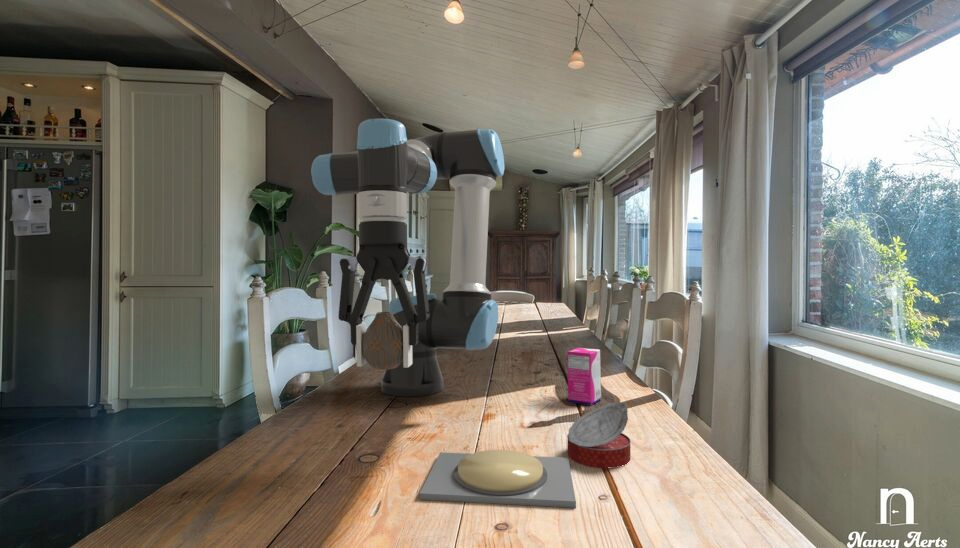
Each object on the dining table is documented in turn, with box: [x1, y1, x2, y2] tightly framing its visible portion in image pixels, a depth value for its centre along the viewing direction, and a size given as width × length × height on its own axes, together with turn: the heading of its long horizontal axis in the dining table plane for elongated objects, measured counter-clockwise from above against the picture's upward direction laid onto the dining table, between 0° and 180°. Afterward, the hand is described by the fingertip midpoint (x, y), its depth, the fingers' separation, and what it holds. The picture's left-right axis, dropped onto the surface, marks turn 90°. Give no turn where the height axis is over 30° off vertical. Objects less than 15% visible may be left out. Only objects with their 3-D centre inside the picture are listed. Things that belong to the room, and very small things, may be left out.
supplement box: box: [566, 347, 602, 406], centre depth 110 cm, size 6×6×12 cm
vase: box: [363, 311, 403, 371], centre depth 78 cm, size 7×7×9 cm
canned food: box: [567, 401, 632, 469], centre depth 78 cm, size 11×10×10 cm
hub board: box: [419, 449, 577, 509], centre depth 69 cm, size 14×20×2 cm
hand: (384, 364), depth 78 cm, fingers closed on vase, 7 cm apart
